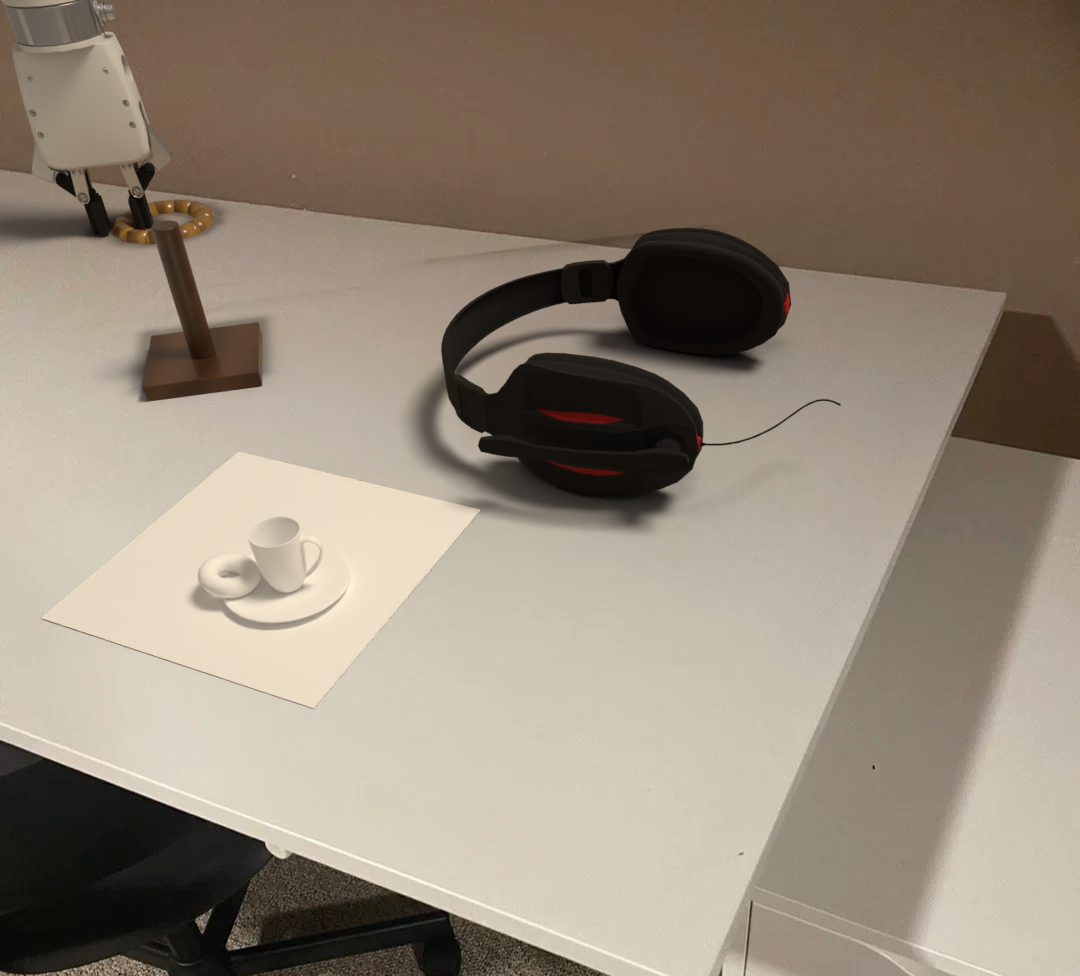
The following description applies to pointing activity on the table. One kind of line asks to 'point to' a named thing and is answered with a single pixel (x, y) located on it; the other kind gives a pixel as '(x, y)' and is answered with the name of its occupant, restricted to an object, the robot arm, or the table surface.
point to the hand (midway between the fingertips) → (126, 236)
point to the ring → (193, 208)
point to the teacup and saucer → (267, 575)
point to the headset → (610, 386)
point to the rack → (196, 336)
